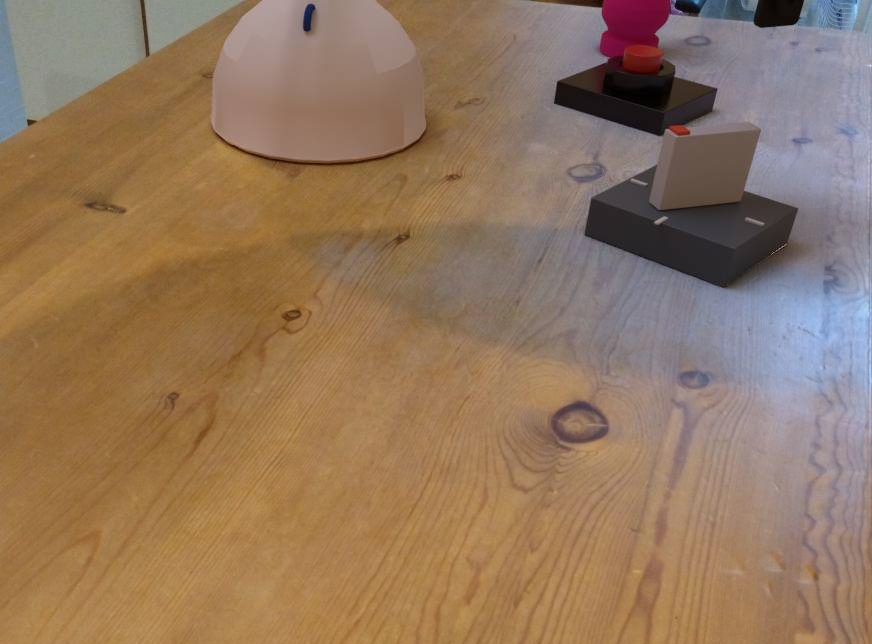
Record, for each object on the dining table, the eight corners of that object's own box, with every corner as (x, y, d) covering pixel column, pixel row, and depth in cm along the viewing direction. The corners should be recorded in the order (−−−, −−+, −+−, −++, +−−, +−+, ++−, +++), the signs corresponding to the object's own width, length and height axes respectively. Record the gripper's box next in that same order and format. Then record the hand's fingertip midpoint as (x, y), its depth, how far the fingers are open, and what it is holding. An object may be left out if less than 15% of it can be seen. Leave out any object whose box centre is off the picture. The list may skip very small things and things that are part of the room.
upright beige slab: (729, 193, 82) (750, 117, 78) (740, 202, 80) (762, 125, 77) (648, 202, 80) (665, 125, 76) (658, 210, 79) (676, 133, 75)
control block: (712, 111, 104) (723, 68, 102) (659, 136, 99) (669, 92, 96) (608, 81, 111) (616, 40, 108) (553, 103, 105) (559, 61, 102)
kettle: (437, 95, 106) (454, -114, 94) (412, 174, 91) (430, -64, 79) (240, 79, 109) (233, -127, 97) (183, 154, 93) (167, -80, 81)
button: (666, 70, 102) (670, 51, 101) (646, 78, 100) (650, 58, 99) (634, 61, 104) (637, 42, 103) (614, 69, 102) (617, 50, 101)
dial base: (790, 242, 82) (803, 203, 80) (719, 290, 76) (731, 249, 74) (655, 196, 88) (663, 159, 86) (579, 236, 82) (586, 197, 80)
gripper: (965, -297, 58) (858, 37, 69) (774, -313, 70) (710, -28, 81) (850, -297, 56) (760, 46, 67) (675, -313, 68) (623, -22, 80)
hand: (732, 5), depth 74 cm, fingers open, 9 cm apart
